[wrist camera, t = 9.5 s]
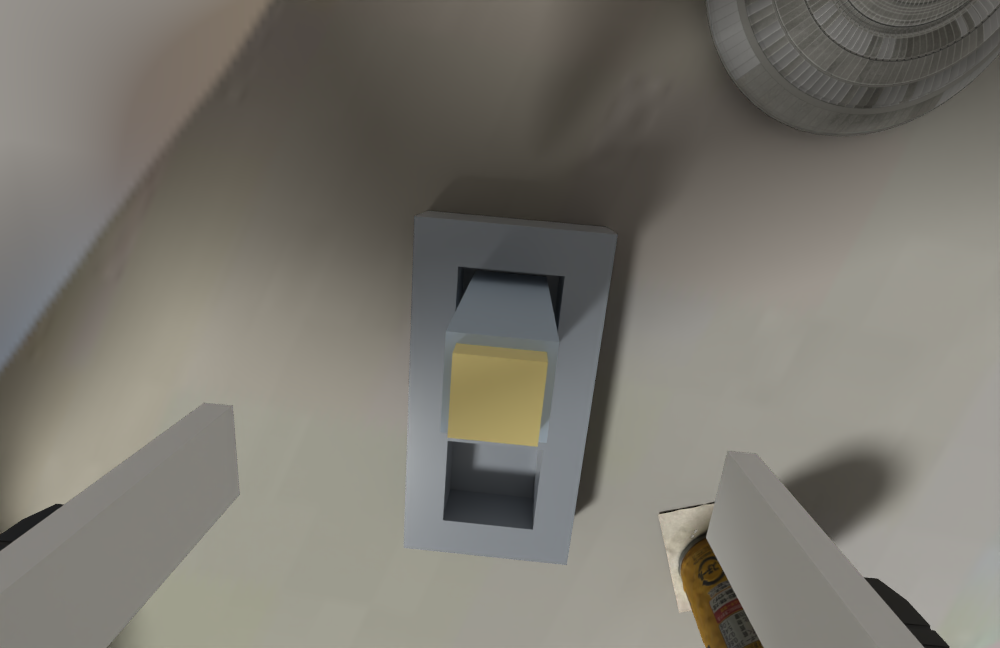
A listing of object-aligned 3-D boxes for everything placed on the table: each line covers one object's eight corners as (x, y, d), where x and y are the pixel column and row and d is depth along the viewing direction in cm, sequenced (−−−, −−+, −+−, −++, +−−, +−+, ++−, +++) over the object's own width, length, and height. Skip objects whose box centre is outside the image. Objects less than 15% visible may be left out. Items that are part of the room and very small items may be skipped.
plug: (471, 336, 29) (435, 446, 18) (476, 270, 28) (441, 340, 16) (538, 343, 29) (548, 457, 17) (546, 276, 28) (561, 352, 16)
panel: (415, 510, 34) (403, 547, 30) (427, 210, 28) (414, 216, 24) (562, 525, 33) (566, 565, 30) (606, 226, 27) (617, 234, 24)
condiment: (678, 610, 35) (752, 822, 24) (657, 512, 33) (728, 695, 21) (784, 592, 34) (914, 804, 23) (770, 491, 32) (907, 669, 21)
